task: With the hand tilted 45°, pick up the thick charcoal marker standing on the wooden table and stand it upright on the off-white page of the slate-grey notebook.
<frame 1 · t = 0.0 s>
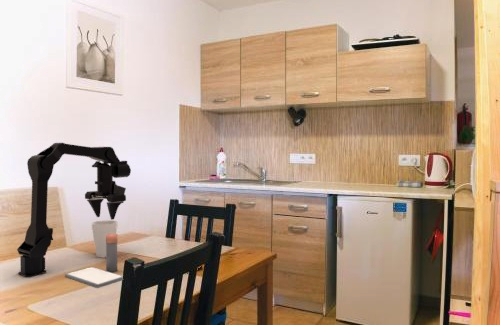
hand: (105, 218, 158), 15 cm above the table, tool pointing down, fingers open, 9 cm apart
notebook: (94, 277, 131), on the table
race car: (185, 272, 138), on the table
marker: (111, 270, 138), on the table
foam cup: (104, 255, 158), on the table
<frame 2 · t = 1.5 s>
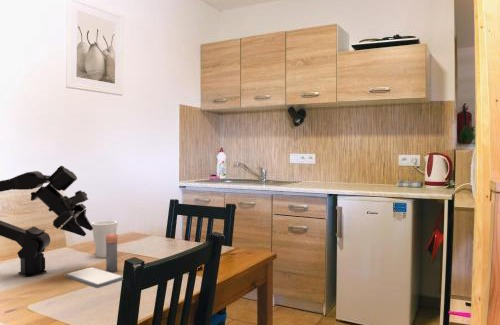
hand: (88, 232, 137), 13 cm above the table, tool tilted 45°, fingers open, 9 cm apart
nothing on the table moved.
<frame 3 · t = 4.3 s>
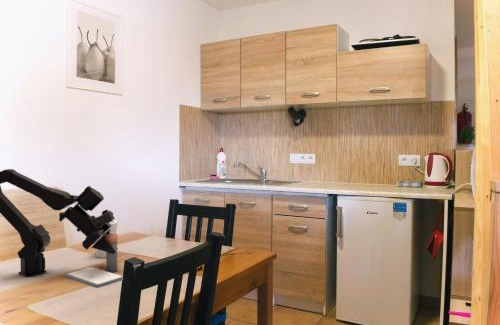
hand: (115, 251, 138), 7 cm above the table, tool tilted 45°, fingers closed on marker, 4 cm apart
marker: (111, 270, 138), on the table, touching gripper
everything else where it was.
when the fingers open (8 cm above the table, at t = 8.3 s): marker stays where it is, resting on notebook.
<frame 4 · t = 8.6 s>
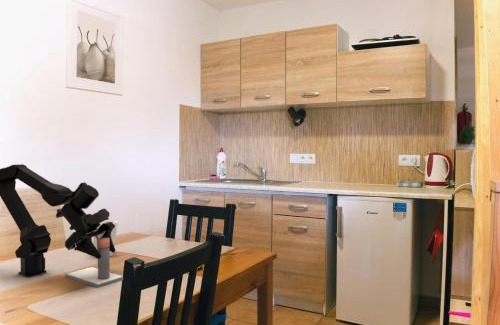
hand: (107, 254, 127), 8 cm above the table, tool tilted 45°, fingers open, 7 cm apart
marker: (104, 277, 128), point 1 cm above the table, touching notebook
everything else where it was.
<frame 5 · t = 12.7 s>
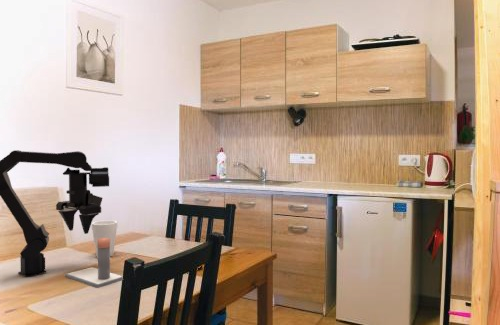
hand: (78, 231, 140), 13 cm above the table, tool pointing down, fingers open, 9 cm apart
nothing on the table moved.
at the end: marker inside the target area (5.0 cm from its centre), point 0.9 cm above the table; marker tilted 0°; the gripper is holding nothing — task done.
